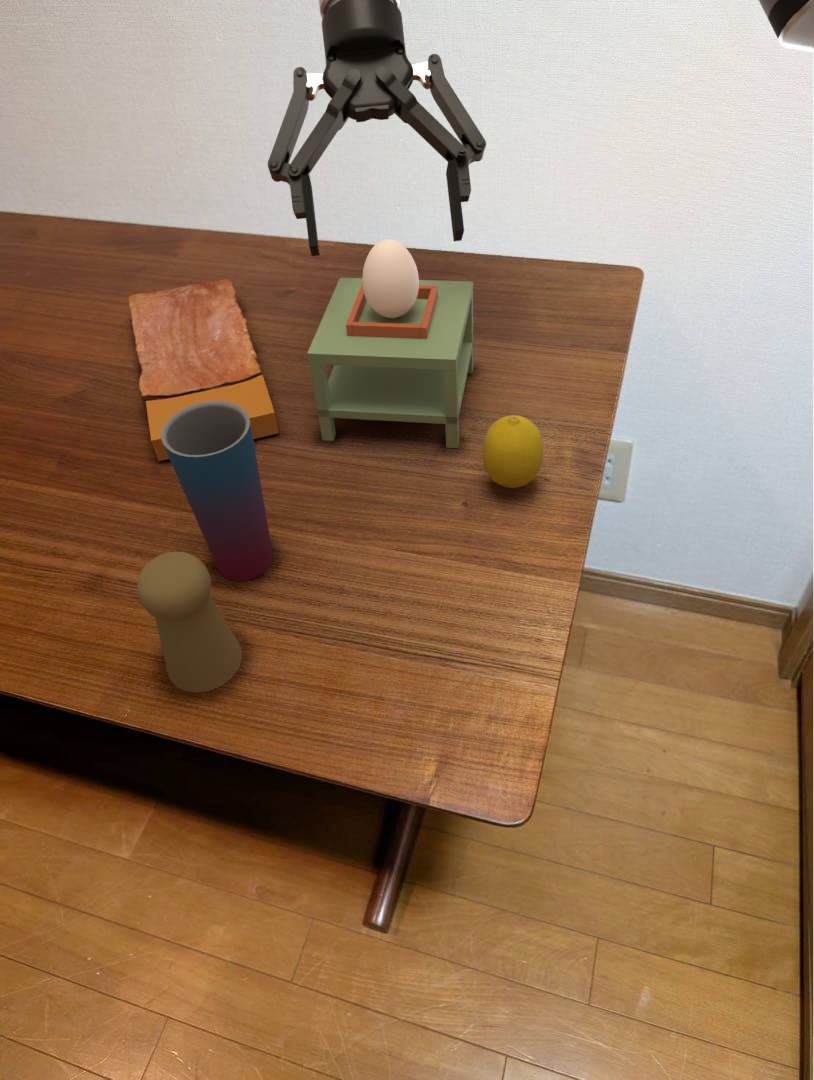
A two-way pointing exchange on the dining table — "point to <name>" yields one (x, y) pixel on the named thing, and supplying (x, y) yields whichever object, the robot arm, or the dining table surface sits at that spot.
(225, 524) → the cup
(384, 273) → the egg
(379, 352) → the green side table
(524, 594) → the dining table surface
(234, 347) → the salmon fillet board
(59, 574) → the dining table surface
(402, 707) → the dining table surface
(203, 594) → the cork
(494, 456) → the lemon
